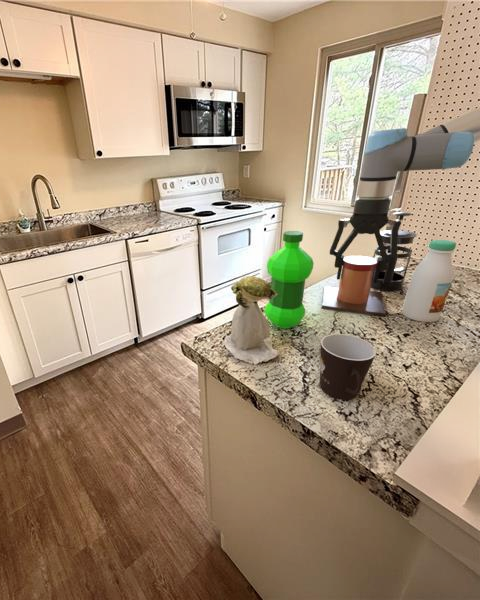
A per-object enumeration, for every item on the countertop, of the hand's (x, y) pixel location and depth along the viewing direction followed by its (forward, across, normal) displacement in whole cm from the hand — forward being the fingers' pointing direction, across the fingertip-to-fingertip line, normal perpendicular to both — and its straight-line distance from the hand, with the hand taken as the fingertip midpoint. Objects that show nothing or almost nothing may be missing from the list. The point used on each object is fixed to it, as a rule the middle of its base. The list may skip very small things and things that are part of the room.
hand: (356, 279), depth 89 cm
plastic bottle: (+7, +16, +20) cm, 27 cm away
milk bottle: (+7, -15, +4) cm, 17 cm away
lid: (-5, 0, 0) cm, 5 cm away
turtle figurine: (+7, +21, +35) cm, 41 cm away
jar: (+6, 0, 0) cm, 6 cm away
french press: (+7, -9, -15) cm, 19 cm away
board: (+7, 0, 0) cm, 7 cm away
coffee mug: (+7, +3, +44) cm, 45 cm away
